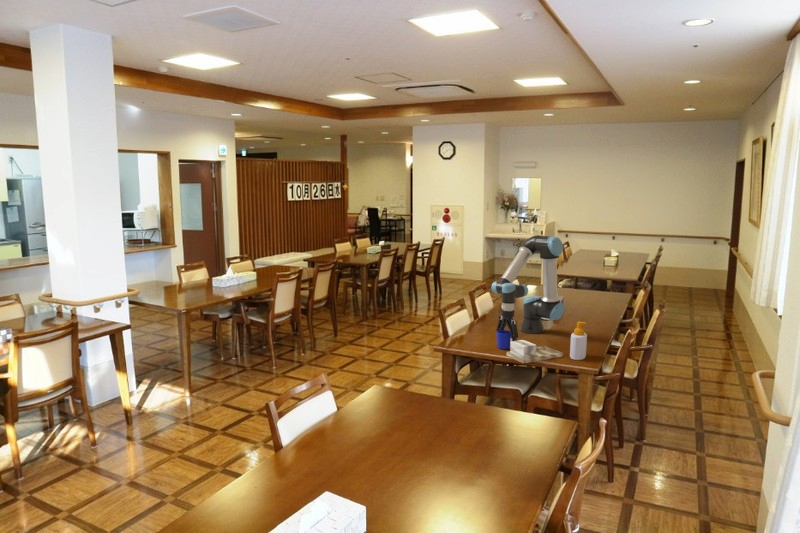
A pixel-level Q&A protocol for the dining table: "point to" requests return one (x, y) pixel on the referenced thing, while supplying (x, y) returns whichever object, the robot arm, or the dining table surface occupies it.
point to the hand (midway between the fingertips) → (506, 346)
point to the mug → (503, 339)
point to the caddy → (531, 352)
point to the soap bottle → (578, 343)
